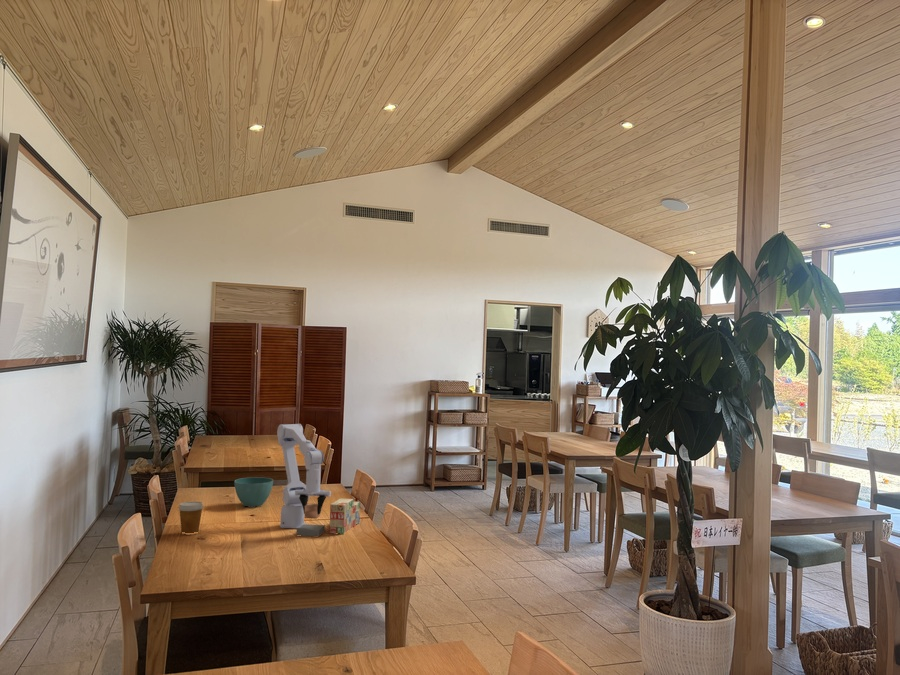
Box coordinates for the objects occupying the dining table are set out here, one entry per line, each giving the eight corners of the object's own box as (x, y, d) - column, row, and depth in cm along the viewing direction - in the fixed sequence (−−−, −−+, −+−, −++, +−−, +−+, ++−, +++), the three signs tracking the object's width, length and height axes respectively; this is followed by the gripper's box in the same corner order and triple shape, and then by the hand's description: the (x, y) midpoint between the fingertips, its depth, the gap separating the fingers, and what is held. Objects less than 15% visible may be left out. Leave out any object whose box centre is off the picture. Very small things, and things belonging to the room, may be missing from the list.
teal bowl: (280, 504, 329) (281, 479, 330) (251, 511, 314) (252, 484, 314) (254, 500, 339) (255, 476, 340) (225, 506, 324) (226, 480, 324)
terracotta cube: (304, 518, 272) (304, 505, 272) (307, 515, 277) (308, 503, 277) (316, 518, 271) (316, 506, 271) (319, 515, 276) (320, 503, 276)
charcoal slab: (296, 537, 270) (296, 529, 270) (303, 531, 279) (303, 524, 279) (318, 537, 269) (318, 530, 270) (324, 532, 278) (324, 525, 278)
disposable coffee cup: (207, 532, 273) (208, 502, 274) (189, 537, 265) (190, 506, 265) (190, 529, 277) (191, 500, 278) (172, 534, 269) (173, 504, 269)
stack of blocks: (346, 522, 296) (346, 494, 297) (359, 523, 295) (360, 494, 295) (329, 533, 275) (330, 503, 275) (343, 534, 274) (344, 504, 274)
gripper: (293, 481, 271) (291, 514, 271) (328, 482, 270) (327, 516, 269) (298, 478, 278) (297, 511, 278) (332, 479, 277) (331, 512, 277)
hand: (312, 513), depth 274 cm, fingers closed on terracotta cube, 5 cm apart
